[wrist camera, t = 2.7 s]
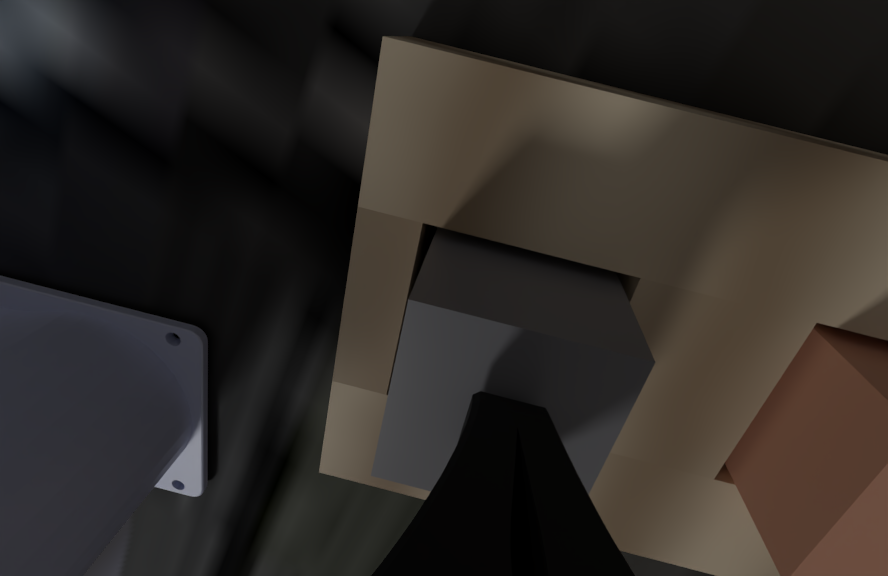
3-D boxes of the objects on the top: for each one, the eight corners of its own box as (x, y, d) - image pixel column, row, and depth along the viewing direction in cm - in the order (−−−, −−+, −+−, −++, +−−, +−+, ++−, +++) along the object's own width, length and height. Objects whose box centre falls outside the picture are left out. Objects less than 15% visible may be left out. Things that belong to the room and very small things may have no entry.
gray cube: (406, 367, 14) (370, 475, 11) (438, 223, 12) (408, 298, 9) (557, 406, 14) (571, 528, 11) (614, 268, 12) (655, 362, 9)
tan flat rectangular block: (348, 407, 18) (319, 471, 15) (410, 36, 12) (382, 36, 10) (819, 529, 18) (874, 616, 15) (1095, 206, 12) (1257, 253, 10)
